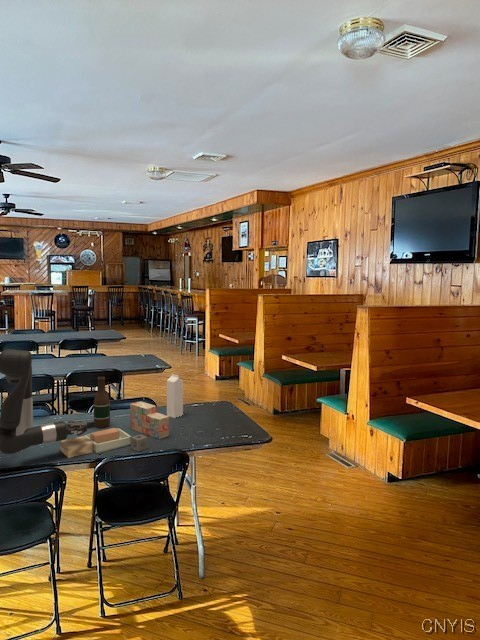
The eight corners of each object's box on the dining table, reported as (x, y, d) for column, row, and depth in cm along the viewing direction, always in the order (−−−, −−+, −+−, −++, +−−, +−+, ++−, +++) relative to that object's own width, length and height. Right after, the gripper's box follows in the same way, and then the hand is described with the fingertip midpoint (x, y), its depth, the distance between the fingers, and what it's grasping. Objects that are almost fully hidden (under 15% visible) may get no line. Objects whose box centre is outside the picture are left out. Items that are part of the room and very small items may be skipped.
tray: (96, 453, 189) (96, 445, 189) (83, 443, 200) (83, 435, 200) (132, 444, 199) (132, 436, 199) (118, 435, 210) (118, 427, 210)
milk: (174, 418, 235) (174, 376, 233) (166, 415, 240) (166, 374, 237) (183, 415, 240) (183, 374, 237) (175, 413, 244) (175, 372, 241)
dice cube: (140, 445, 199) (140, 434, 198) (147, 448, 196) (147, 437, 195) (131, 448, 195) (130, 437, 194) (138, 451, 192) (138, 440, 191)
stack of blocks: (169, 436, 211) (169, 409, 209) (158, 439, 206) (158, 413, 205) (140, 425, 224) (140, 400, 223) (130, 428, 220) (129, 403, 218)
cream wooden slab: (68, 458, 184) (68, 448, 184) (60, 450, 192) (60, 440, 192) (92, 452, 190) (92, 442, 190) (84, 444, 198) (83, 435, 198)
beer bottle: (105, 429, 218) (104, 379, 215) (90, 427, 220) (89, 378, 217) (113, 423, 226) (112, 375, 223) (98, 422, 227) (97, 374, 225)
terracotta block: (94, 436, 193) (119, 431, 200) (90, 433, 197) (114, 427, 204) (94, 447, 193) (119, 442, 200) (90, 444, 197) (114, 438, 204)
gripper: (57, 428, 179) (100, 419, 190) (47, 419, 189) (89, 411, 200) (58, 446, 180) (101, 437, 190) (47, 436, 190) (89, 428, 201)
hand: (94, 424), depth 195 cm, fingers closed
